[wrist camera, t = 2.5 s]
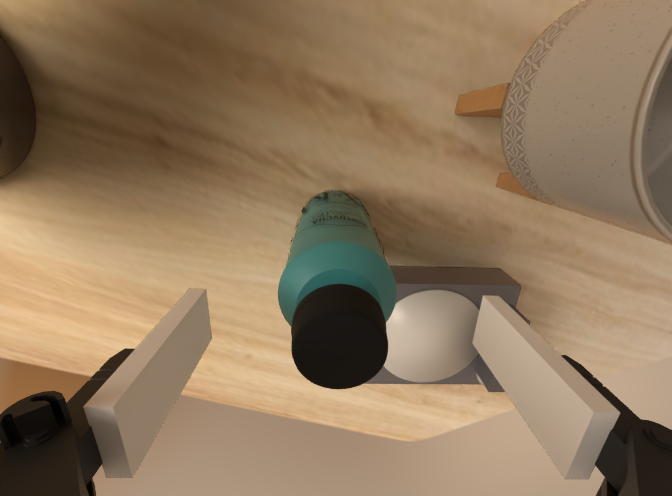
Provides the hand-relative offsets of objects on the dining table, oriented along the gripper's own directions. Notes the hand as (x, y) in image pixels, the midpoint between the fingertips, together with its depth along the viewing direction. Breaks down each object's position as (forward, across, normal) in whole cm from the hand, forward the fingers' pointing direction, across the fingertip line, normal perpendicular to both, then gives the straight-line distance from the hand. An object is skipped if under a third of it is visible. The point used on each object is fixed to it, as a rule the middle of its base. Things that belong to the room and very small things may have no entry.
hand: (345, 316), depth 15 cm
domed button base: (+17, +10, -11) cm, 22 cm away
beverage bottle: (+17, 0, 0) cm, 17 cm away
